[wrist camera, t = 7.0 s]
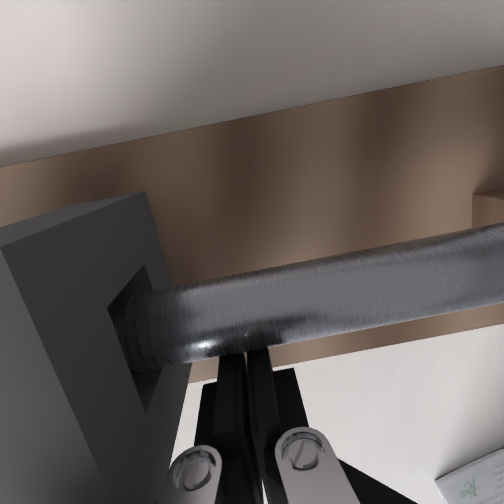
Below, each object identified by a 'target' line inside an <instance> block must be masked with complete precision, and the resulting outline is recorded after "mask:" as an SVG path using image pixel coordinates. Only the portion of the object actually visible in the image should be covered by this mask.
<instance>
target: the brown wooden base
mask: <svg viewBox="0 0 504 504" xmlns="http://www.w3.org/2000/svg"><path fill="white" fill-rule="evenodd" d="M140 191H145V192H146V196H147V199H148V203H149V206H150V210H151V213H152V217H153V220H154V224H155V227H156V231H157V234H158V238H159V241H160V244H161V248H162V251H163V255H164V258H165V262H166V265H167V269H168V272H169V276H170V279H171V283H172V286H178V285H183V284H188V283H193V282H198V281H204V280H209V279H214V278H219V277H224V276H229V275H234V274H239V273H245V272H250V271H255V270H260V269H265V268H270V267H275V266H280V265H286V264H291V263H296V262H301V261H306V260H311V259H316V258H322V257H327V256H332V255H337V254H342V253H347V252H352V251H357V250H363V249H368V248H373V247H378V246H383V245H388V244H393V243H398V242H404V241H409V240H414V239H419V238H424V237H429V236H434V235H439V234H445V233H450V232H455V231H460V230H465V229H470V228H475V227H480V226H486V225H491V224H496V223H501V222H504V65H501V66H496V67H491V68H486V69H481V70H477V71H472V72H467V73H462V74H457V75H452V76H447V77H442V78H437V79H432V80H427V81H422V82H418V83H413V84H408V85H403V86H398V87H393V88H388V89H383V90H378V91H373V92H368V93H363V94H359V95H354V96H349V97H344V98H339V99H334V100H329V101H324V102H319V103H314V104H309V105H304V106H300V107H295V108H290V109H285V110H280V111H275V112H270V113H265V114H260V115H255V116H250V117H245V118H241V119H236V120H231V121H226V122H221V123H216V124H211V125H206V126H201V127H196V128H191V129H186V130H182V131H177V132H172V133H167V134H162V135H157V136H152V137H147V138H142V139H137V140H132V141H127V142H123V143H118V144H113V145H108V146H103V147H98V148H93V149H88V150H83V151H78V152H73V153H68V154H64V155H59V156H54V157H49V158H44V159H39V160H34V161H29V162H24V163H19V164H14V165H9V166H5V167H0V227H3V226H6V225H9V224H12V223H16V222H19V221H22V220H25V219H29V218H32V217H35V216H38V215H42V214H45V213H48V212H51V211H55V210H58V209H61V208H64V207H68V206H71V205H75V204H80V203H85V202H90V201H95V200H100V199H105V198H110V197H115V196H120V195H125V194H130V193H135V192H140ZM499 324H504V303H500V304H495V305H489V306H484V307H479V308H474V309H468V310H463V311H458V312H453V313H448V314H442V315H437V316H432V317H427V318H421V319H416V320H411V321H406V322H400V323H395V324H390V325H385V326H379V327H374V328H369V329H364V330H358V331H353V332H348V333H343V334H337V335H332V336H327V337H322V338H316V339H311V340H306V341H301V342H295V343H290V344H285V345H280V346H274V347H269V348H268V349H269V354H270V359H271V364H272V367H278V366H283V365H288V364H293V363H299V362H304V361H309V360H315V359H320V358H325V357H330V356H336V355H341V354H346V353H351V352H357V351H362V350H367V349H373V348H378V347H383V346H388V345H394V344H399V343H404V342H409V341H415V340H420V339H425V338H431V337H436V336H441V335H446V334H452V333H457V332H462V331H467V330H473V329H478V328H483V327H489V326H494V325H499ZM244 354H245V359H246V363H247V353H246V352H244ZM218 365H219V357H217V358H212V359H206V360H201V361H196V362H192V367H191V371H190V376H189V380H188V383H193V382H199V381H204V380H209V379H214V378H217V377H218Z"/></svg>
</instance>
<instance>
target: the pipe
mask: <svg viewBox="0 0 504 504" xmlns="http://www.w3.org/2000/svg"><path fill="white" fill-rule="evenodd" d="M500 303H504V222H501V223H496V224H491V225H486V226H480V227H475V228H470V229H465V230H460V231H455V232H450V233H445V234H439V235H434V236H429V237H424V238H419V239H414V240H409V241H404V242H398V243H393V244H388V245H383V246H378V247H373V248H368V249H363V250H357V251H352V252H347V253H342V254H337V255H332V256H327V257H322V258H316V259H311V260H306V261H301V262H296V263H291V264H286V265H280V266H275V267H270V268H265V269H260V270H255V271H250V272H245V273H239V274H234V275H229V276H224V277H219V278H214V279H209V280H204V281H198V282H193V283H188V284H183V285H178V286H173V287H168V288H163V289H157V290H152V291H147V292H142V293H137V294H132V295H127V296H122V297H116V298H114V300H113V301H112V302H111V303H110V304H109V305H108V307H107V310H108V312H109V315H110V318H111V321H112V323H113V326H114V329H115V332H116V334H117V337H118V340H119V343H120V345H121V348H122V351H123V354H124V357H125V359H126V362H127V365H128V368H129V370H130V373H131V374H133V373H138V372H143V371H149V370H154V369H159V368H164V367H170V366H175V365H180V364H185V363H191V362H196V361H201V360H206V359H212V358H217V357H222V356H227V355H233V354H238V353H243V352H248V351H254V350H259V349H264V348H269V347H274V346H280V345H285V344H290V343H295V342H301V341H306V340H311V339H316V338H322V337H327V336H332V335H337V334H343V333H348V332H353V331H358V330H364V329H369V328H374V327H379V326H385V325H390V324H395V323H400V322H406V321H411V320H416V319H421V318H427V317H432V316H437V315H442V314H448V313H453V312H458V311H463V310H468V309H474V308H479V307H484V306H489V305H495V304H500Z"/></svg>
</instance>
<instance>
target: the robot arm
mask: <svg viewBox="0 0 504 504" xmlns="http://www.w3.org/2000/svg"><path fill="white" fill-rule="evenodd" d="M246 353H247V363H246V359H245V354H244V352H243V353H238V354H233V355H227V356H222V357H219V365H218V377H217V382H214V383H208V384H204V385H203V388H202V395H201V401H200V408H199V415H198V421H197V428H196V435H195V441H194V447H192V448H189V449H187V450H185V451H184V452H183V453H181V454H180V455H179V456H178V457H177V458H176V459H175V460H174V462H173V463H172V465H171V467H170V469H169V471H168V473H167V476H166V479H165V482H164V484H163V487H162V490H161V493H160V495H159V498H158V500H157V501H156V502H155V503H154V504H264V501H263V487H262V480H263V484H264V488H265V493H266V497H267V501H268V504H417V503H416V502H414V501H412V500H410V499H409V498H407V497H405V496H403V495H402V494H400V493H398V492H396V491H395V490H393V489H391V488H389V487H387V486H386V485H384V484H382V483H380V482H379V481H377V480H375V479H373V478H372V477H370V476H368V475H366V474H365V473H363V472H361V471H359V470H357V469H356V468H354V467H352V466H350V465H349V464H347V463H345V462H343V461H342V460H340V459H338V458H337V457H336V455H335V453H334V451H333V449H332V447H331V445H330V443H329V441H328V440H327V438H326V437H325V436H324V435H323V434H322V433H321V432H319V431H318V430H316V429H313V428H310V427H309V425H308V421H307V417H306V413H305V409H304V406H303V402H302V398H301V394H300V390H299V386H298V383H297V379H296V375H295V371H294V368H289V369H283V370H278V371H273V369H272V364H271V359H270V354H269V349H268V348H264V349H259V350H254V351H248V352H246Z"/></svg>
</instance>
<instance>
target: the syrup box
mask: <svg viewBox="0 0 504 504" xmlns="http://www.w3.org/2000/svg"><path fill="white" fill-rule="evenodd" d="M435 484H436V486H437V489H438V491H439V493H440V494H441V496H442V498H443V500H444V502H445V503H446V504H504V448H503V449H500V450H498V451H495V452H493V453H490V454H488V455H486V456H484V457H482V458H480V459H478V460H475V461H473V462H471V463H469V464H467V465H465V466H463V467H461V468H459V469H457V470H455V471H453V472H451V473H449V474H447V475H445V476H443V477H442V478H440V479H438V480H435Z"/></svg>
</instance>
